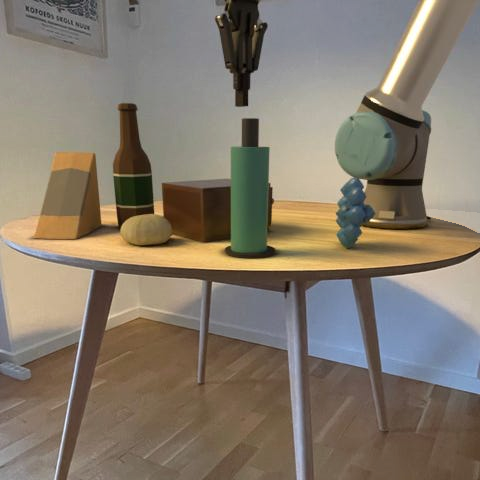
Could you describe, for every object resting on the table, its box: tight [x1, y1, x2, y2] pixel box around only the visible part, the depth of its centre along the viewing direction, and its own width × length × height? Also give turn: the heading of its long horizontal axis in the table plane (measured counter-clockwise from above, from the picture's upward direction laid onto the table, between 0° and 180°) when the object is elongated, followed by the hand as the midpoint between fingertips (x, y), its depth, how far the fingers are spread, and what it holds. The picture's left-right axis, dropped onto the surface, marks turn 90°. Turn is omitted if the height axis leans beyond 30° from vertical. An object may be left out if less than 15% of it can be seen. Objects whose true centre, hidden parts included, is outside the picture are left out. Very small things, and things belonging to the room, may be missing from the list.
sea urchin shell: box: [119, 213, 173, 246], centre depth 85 cm, size 9×8×8 cm
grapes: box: [335, 177, 375, 249], centre depth 79 cm, size 12×7×12 cm, turn 178°
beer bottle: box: [112, 102, 155, 229], centre depth 95 cm, size 8×8×24 cm
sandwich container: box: [33, 151, 102, 240], centre depth 92 cm, size 9×15×15 cm, turn 177°
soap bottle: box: [230, 117, 270, 253], centre depth 74 cm, size 6×6×20 cm
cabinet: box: [161, 178, 271, 243], centre depth 94 cm, size 17×14×10 cm
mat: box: [224, 244, 276, 259], centre depth 78 cm, size 8×8×1 cm
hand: (241, 106), depth 104 cm, fingers closed
